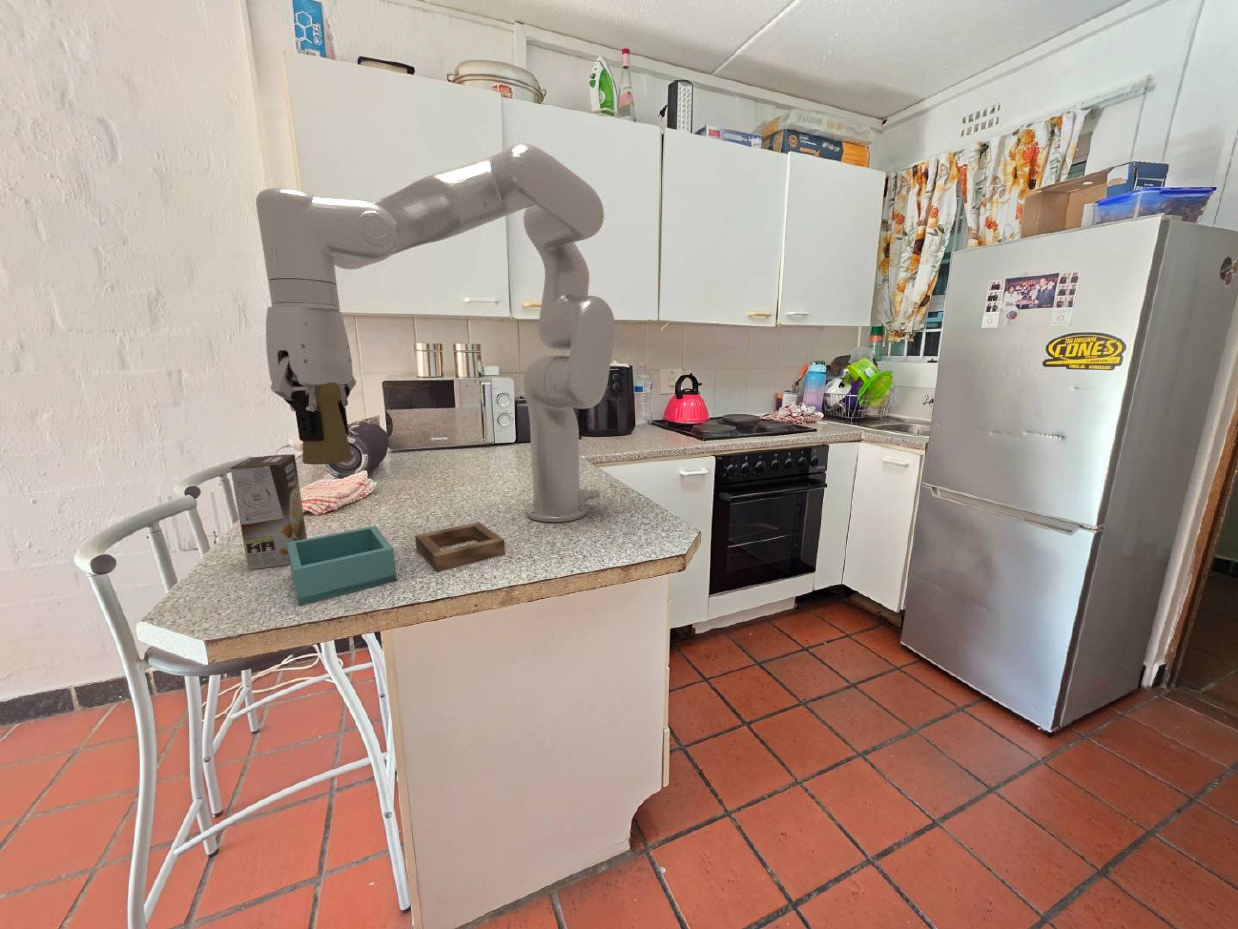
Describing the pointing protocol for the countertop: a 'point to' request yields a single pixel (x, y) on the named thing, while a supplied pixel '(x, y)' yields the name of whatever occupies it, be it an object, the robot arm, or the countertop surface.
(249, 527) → the coffee box
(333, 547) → the teal bin
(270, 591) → the countertop surface
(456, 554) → the walnut collar
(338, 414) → the cork
